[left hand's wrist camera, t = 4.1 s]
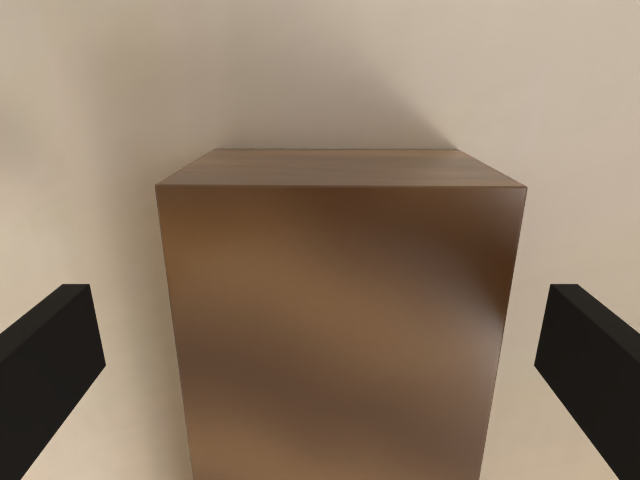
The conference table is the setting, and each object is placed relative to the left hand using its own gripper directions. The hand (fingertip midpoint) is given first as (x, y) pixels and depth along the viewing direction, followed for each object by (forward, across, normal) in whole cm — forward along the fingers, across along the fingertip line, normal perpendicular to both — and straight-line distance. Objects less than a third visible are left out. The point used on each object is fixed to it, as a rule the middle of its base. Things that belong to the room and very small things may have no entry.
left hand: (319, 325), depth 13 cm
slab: (+7, +1, -36) cm, 36 cm away
